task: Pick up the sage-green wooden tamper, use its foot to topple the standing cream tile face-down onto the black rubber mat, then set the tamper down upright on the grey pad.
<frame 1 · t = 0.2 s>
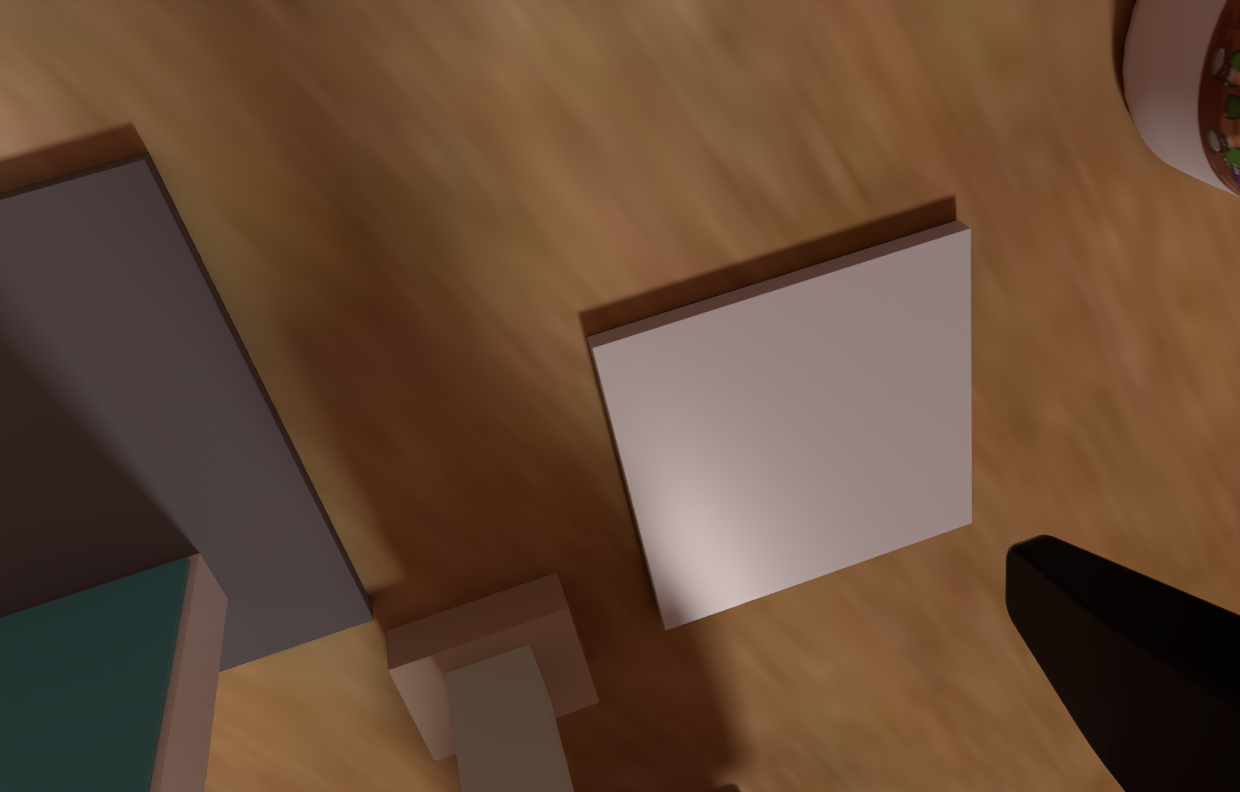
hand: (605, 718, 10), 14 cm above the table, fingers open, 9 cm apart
tamper: (491, 648, 28), on the table
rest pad: (796, 434, 27), on the table
tile: (71, 623, 24), resting on mat
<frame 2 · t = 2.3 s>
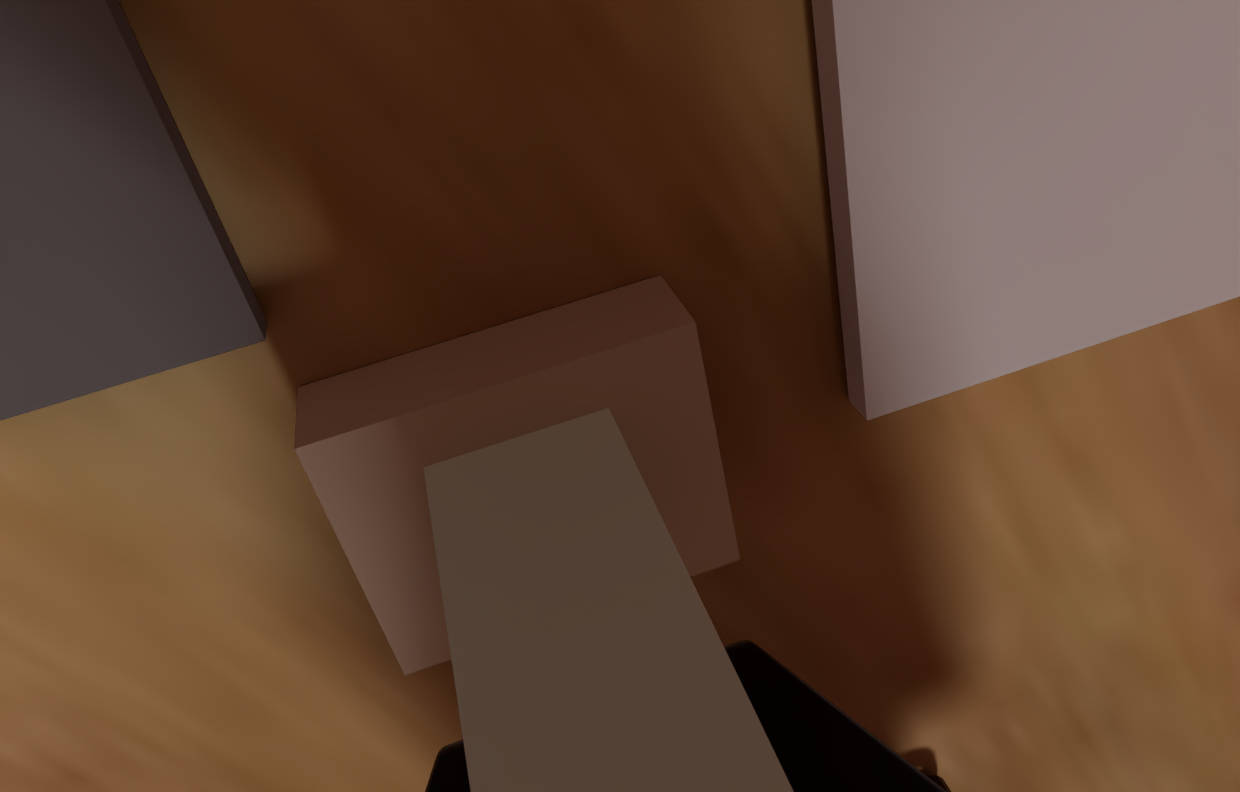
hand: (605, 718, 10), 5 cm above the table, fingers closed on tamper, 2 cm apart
tamper: (521, 448, 14), on the table, touching gripper
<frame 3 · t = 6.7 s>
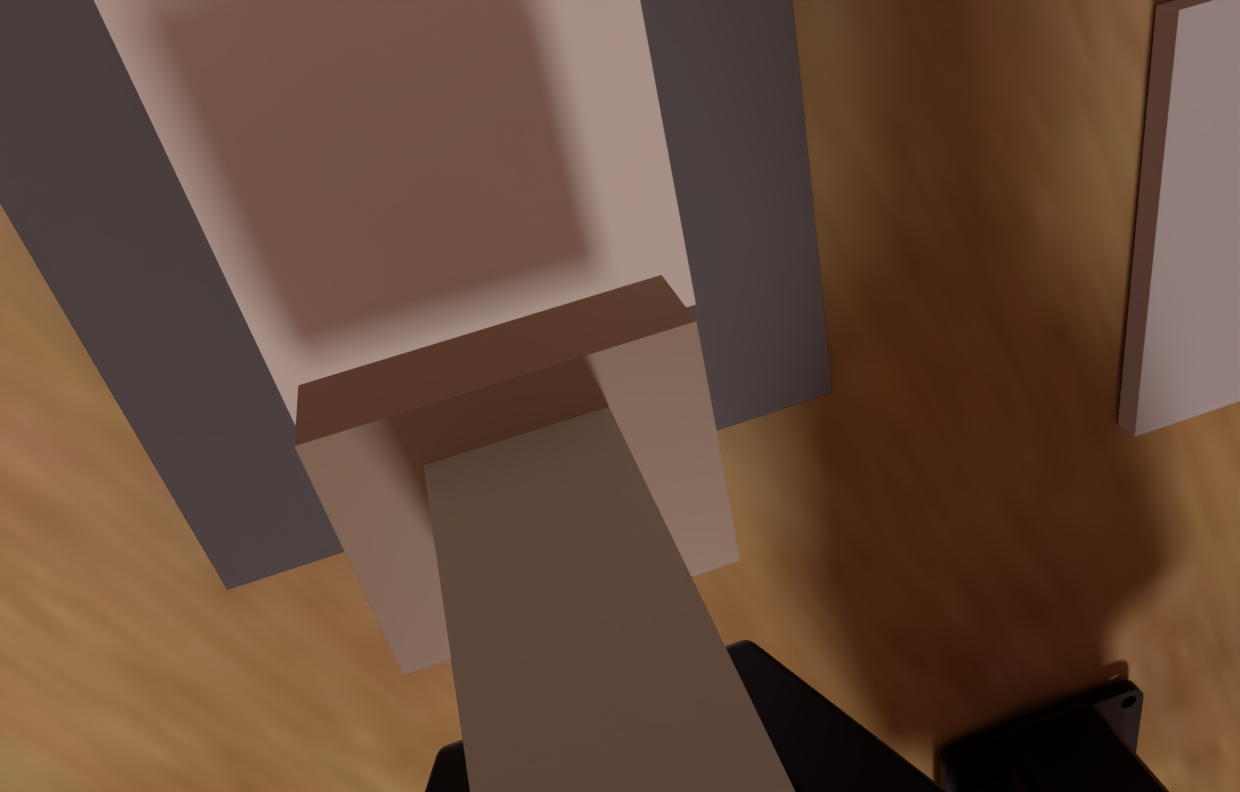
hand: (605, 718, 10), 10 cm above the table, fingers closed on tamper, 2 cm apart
tamper: (522, 448, 14), point 5 cm above the table, touching gripper
tile: (494, 344, 17), point 1 cm above the table, tilted 90°, touching mat
mat: (443, 184, 17), on the table
when the fingers open (7 cm above the table, at t = 11.4 s): tamper drops 1 cm, resting on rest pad.
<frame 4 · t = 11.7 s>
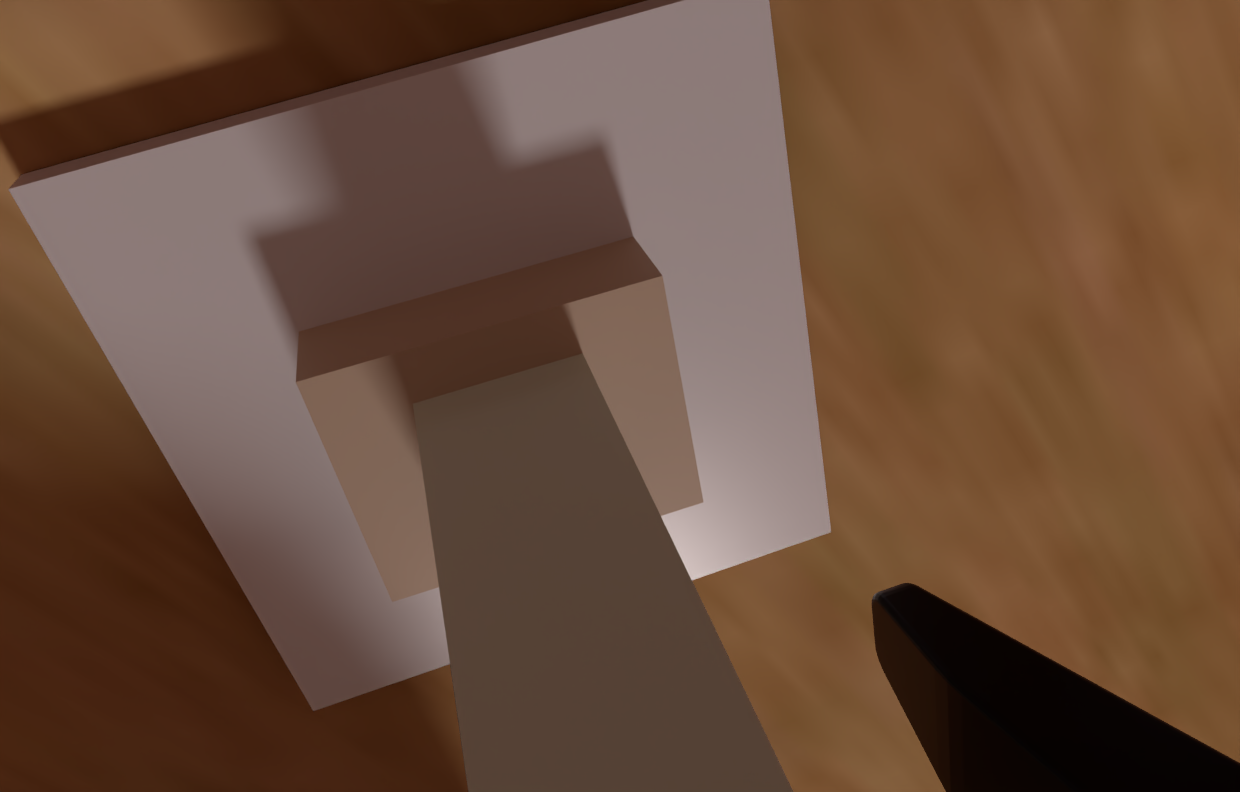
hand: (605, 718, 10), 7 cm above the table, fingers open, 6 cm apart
tamper: (503, 396, 15), point 1 cm above the table, touching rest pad
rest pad: (501, 378, 16), on the table
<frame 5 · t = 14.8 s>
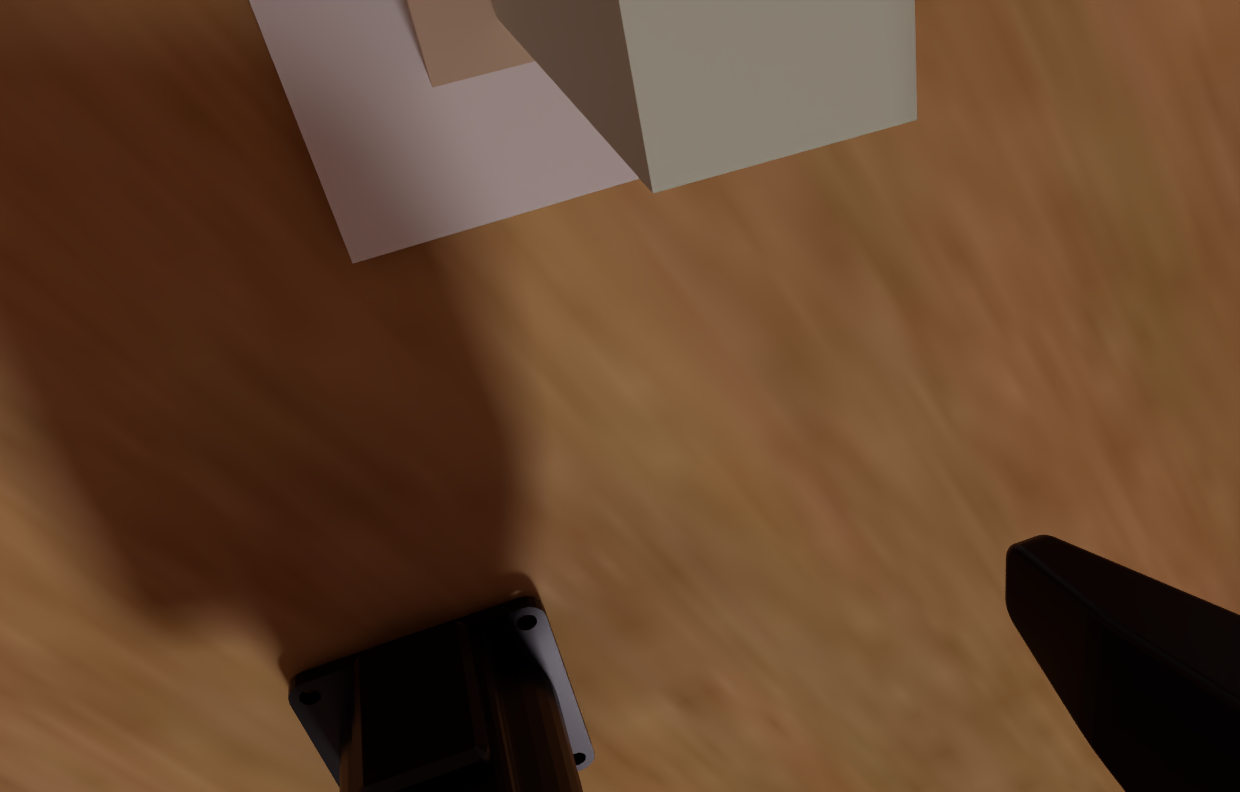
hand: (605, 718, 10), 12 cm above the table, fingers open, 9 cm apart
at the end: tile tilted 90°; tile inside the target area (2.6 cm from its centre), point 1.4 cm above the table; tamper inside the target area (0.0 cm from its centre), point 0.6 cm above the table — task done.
